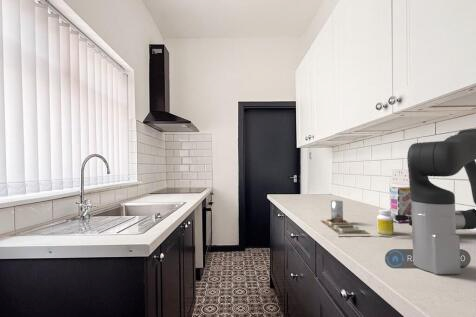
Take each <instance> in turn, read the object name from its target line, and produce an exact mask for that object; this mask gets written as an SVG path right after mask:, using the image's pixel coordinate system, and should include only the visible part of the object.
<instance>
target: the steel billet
mask: <svg viewBox="0 0 476 317" xmlns="http://www.w3.org/2000/svg"><path fill="white" fill-rule="evenodd" d="M330 215H331V216H330V219H331V223H343V219H344V203H343V200H339V199H338V200H337V199H335V200H330Z"/></svg>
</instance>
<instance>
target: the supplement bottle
mask: <svg viewBox="0 0 476 317" xmlns="http://www.w3.org/2000/svg"><path fill="white" fill-rule="evenodd" d="M390 215H391V210H390V209H379V210H378V215H377V216H376V224H377V225H376V228H377V229H376V230H377V232H376V233H377V234H379V235H380V237H381V238H393V237H394V232H395V231H394V222H393V217H392V216H390Z"/></svg>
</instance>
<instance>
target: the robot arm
mask: <svg viewBox="0 0 476 317" xmlns="http://www.w3.org/2000/svg"><path fill="white" fill-rule="evenodd" d="M406 156H407V159H406V160H407V162H406V163H407V171H408V172H407V173H408V182H409V187H410V192H411V200H412V201H411V205H412V213H403V215H395V220H396V221H409V222H408V225H409V226H411V233H412V239H411V240H412V259H413V260H412V262H413V263H412V264H413V266H415V267H417V268H418V269H421V270H423V271H427V272H430V273H432V274H435V275H461V274H462V271H461V268H462V267H461V249H460V248H461V244H460V236H459V235H458V234H457V230H474V229H476V210H475V209H474V208H469V209H466V210H456V196H455V194H454V192H453V191H451V190H448V189H445V188H442V187H440V186H438V185H436V184H434V183H432V182H431V181H430V179H429V177H446V178H447V177H452V176H454V175H457V174H458V173H459V172H460V171H462V169H463V168H464V170H465V172H466V175H467V177H468V178H467V179H468V182H469V185H470V189H471V195H472V200H473V203H474V204H475V205H476V128H469V129H461V130H459V131H458V132H457V133H456V134H453V135H450V136H449V137H447V138H445V140H440V141H439V140H438V141H437V140H436V141H428V142H427V141H423V142H414V143H412V144H411V145H410V146H409V147H408V151H407V155H406ZM408 216H409V218H408Z"/></svg>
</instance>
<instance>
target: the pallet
mask: <svg viewBox="0 0 476 317" xmlns="http://www.w3.org/2000/svg"><path fill="white" fill-rule="evenodd" d="M320 222H321V223H322V224H324V225H325V226H326V227H328V228H329V229H330V230H333V231H334V232H335V233H336V234H338V237H339V238H343V237H344V238H357V237H358V238H359V237H360V238H363V237H364V238H365V237H366V238H367V237H368V238H370V237H372V235H371V233H370V232H368V231H366V230H365V229H363V228H361V227H359V226H357V225H355V224H353V223H351V222H349V221H348V220H346V219H344V218H343V223H331V218H325V219H324V220H320Z"/></svg>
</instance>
